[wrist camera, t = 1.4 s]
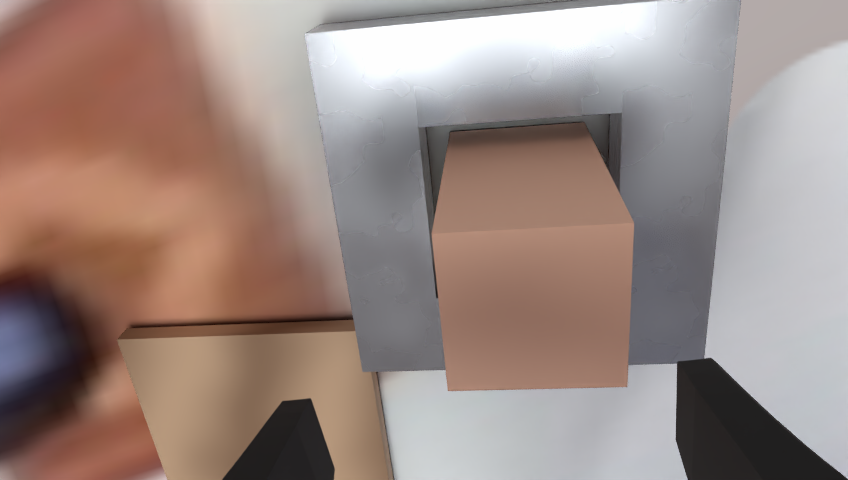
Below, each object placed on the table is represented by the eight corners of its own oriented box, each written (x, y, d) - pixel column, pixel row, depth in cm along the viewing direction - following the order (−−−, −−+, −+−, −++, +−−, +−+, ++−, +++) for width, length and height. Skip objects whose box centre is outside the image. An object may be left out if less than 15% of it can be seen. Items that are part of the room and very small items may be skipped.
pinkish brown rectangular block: (584, 122, 21) (634, 222, 14) (583, 243, 23) (627, 386, 16) (449, 132, 22) (431, 233, 14) (460, 249, 24) (447, 391, 16)
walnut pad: (367, 319, 25) (364, 330, 24) (397, 505, 29) (395, 520, 29) (127, 328, 26) (117, 339, 26) (189, 506, 31) (181, 520, 30)
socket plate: (717, -14, 19) (741, -7, 17) (687, 330, 24) (703, 362, 22) (320, 24, 20) (304, 34, 19) (371, 340, 26) (362, 372, 24)
